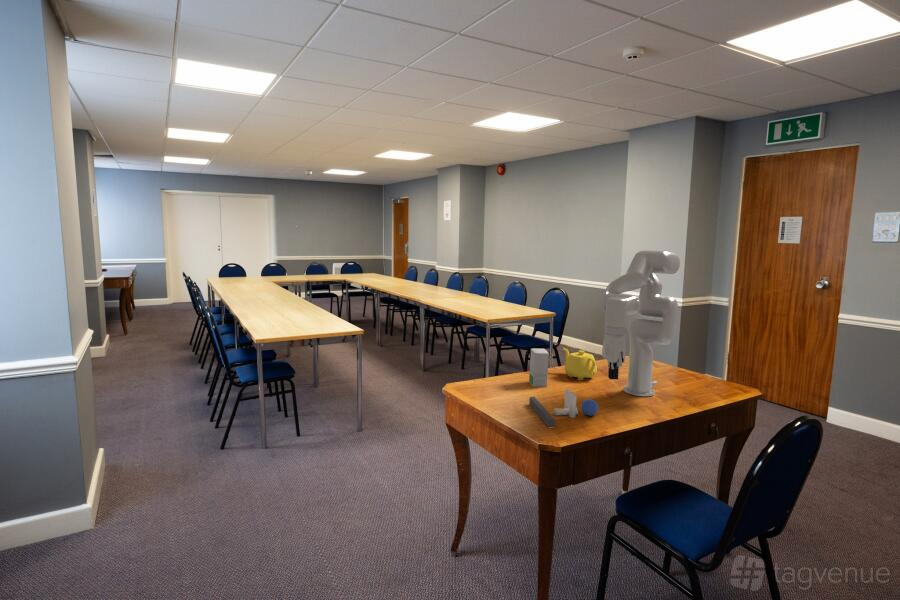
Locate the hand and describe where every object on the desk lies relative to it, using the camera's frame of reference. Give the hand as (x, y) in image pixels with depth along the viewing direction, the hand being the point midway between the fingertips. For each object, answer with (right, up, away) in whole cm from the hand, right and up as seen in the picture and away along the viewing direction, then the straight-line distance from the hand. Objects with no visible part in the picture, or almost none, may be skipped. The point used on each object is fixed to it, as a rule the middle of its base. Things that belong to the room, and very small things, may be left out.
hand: (613, 378), depth 184 cm
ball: (-9, -10, -2) cm, 14 cm away
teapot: (0, -7, +49) cm, 50 cm away
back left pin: (-16, -14, -3) cm, 21 cm away
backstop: (-27, -13, -2) cm, 31 cm away
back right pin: (-17, -13, +2) cm, 21 cm away
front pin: (-14, -12, -1) cm, 18 cm away
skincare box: (-22, -8, +36) cm, 43 cm away
